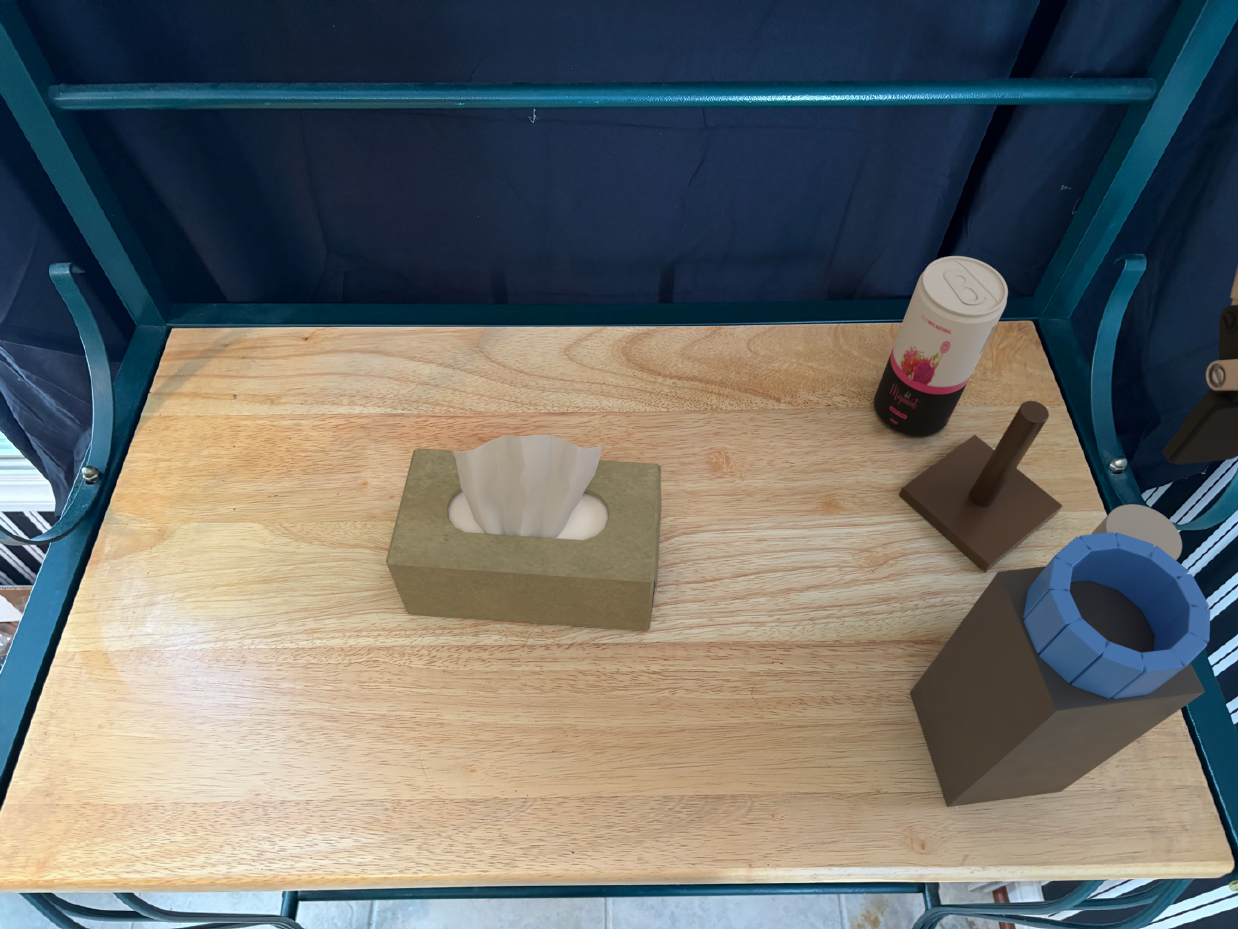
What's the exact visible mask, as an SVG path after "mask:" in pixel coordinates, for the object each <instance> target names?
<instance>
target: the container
mask: <svg viewBox="0 0 1238 929" xmlns="http://www.w3.org/2000/svg"><path fill="white" fill-rule="evenodd" d="M1108 532H1114V533H1115V534H1116V533H1117V532H1118V533H1121V534H1124V535H1127V536H1130V537H1134V538H1137V539H1140V540H1143V541H1146V542H1149V543H1152V544H1154V548H1155V547H1156V546H1158V547H1159V548H1161V549H1162V550H1163V551H1165V552H1166V553H1167V554H1168V555H1170V556H1171V557H1172V558H1173V559H1175V560H1176V561H1177V560H1178V559H1179V557H1180V556H1181V554H1182V550H1183V541H1182V537H1181V534H1180V532H1179V531H1178V529H1177V528H1176V526H1175V524H1174V523H1172V521H1171V520H1170V519H1168V518H1167V517H1166V516H1165V515H1164V514H1162V513H1160V512H1159V511H1157V510H1156V509H1153V508H1152V507H1148V506H1145V505H1141V504H1133V503H1132V504H1123V505H1119V506H1116V507H1115V508H1114V509H1112V510H1111V511H1110V512H1109V513H1108V514H1107V515H1106V517H1104V519H1103V520H1102V521H1101V522H1100V523H1099V524H1098V525H1097V526H1096V527H1095V529H1094V530H1093V531H1092V532H1091V533H1090V534H1099V533H1108Z"/></svg>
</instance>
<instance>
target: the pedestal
mask: <svg viewBox="0 0 1238 929" xmlns="http://www.w3.org/2000/svg"><path fill="white" fill-rule="evenodd" d="M1046 566H1047V565H1045V566H1035V567H1026V568H1017V569H1008V570H1001V571H997V573H996V574H995V575H994V577H993V578H992V579H991V581H990V582H989V584H988V585H987V586H986V588H985V589H984V590H983V592H982V593H981V595H980V596H979V597H978V599H977V600H976V601H975V603H974V604H973V606H972V607H971V608H970V610H969V611H968V612H967V614H966V615H965V617H964V618H963V619H962V620H961V622H960V624H959V625H958V626H957V628H956V629H955V630H954V631H953V633H952V634H951V635H950V637H949V638H948V640H947V641H946V642H945V644H944V645H943V647H942V648H941V649H940V650H939V652H938V653H937V655H936V656H935V657H934V659H933V660H932V662H931V663H930V664H929V666H928V667H927V668H926V669H925V671H924V672H923V674H922V675H921V677H920V678H919V679H918V680H917V682H916V683H915V685H914V686H913V688H912V689H910V692H909V693H910V697H911V700H912V703H913V707H914V709H915V712H916V715H917V718H918V722H919V726H920V728H921V730H922V733H923V737H924V741H925V743H926V746H927V750H928V752H929V755H930V758H931V761H932V764H933V767H934V771H935V774H936V777H937V779H938V782H939V785H940V789H941V792H942V796H943V798H944V801H945V804H946V807H947V808H949V807H951V808H952V807H956V806H957V807H958V806H965V805H973V804H979V803H987V802H994V801H1002V800H1008V799H1009V800H1010V799H1017V798H1023V797H1030V796H1038V795H1046V794H1053V793H1061V792H1063V791H1064V790H1066V789H1067V788H1069V787H1070V786H1071V785H1073V784H1075V783H1076V782H1077V781H1079V780H1080V779H1082V778H1083V777H1084V776H1086V775H1087V774H1089V773H1091V771H1093V770H1095V769H1096V768H1097V767H1099V766H1100V765H1102V764H1104V763H1105V762H1106V761H1108V760H1110V758H1112V757H1113V756H1115V755H1117V754H1118V753H1119V752H1120V751H1122V750H1124V749H1125V748H1126V747H1128V746H1129V745H1130V744H1132V743H1134V742H1135V741H1136V740H1138V739H1140V738H1141V737H1142V736H1144V735H1145V734H1146V733H1148V732H1150V731H1151V730H1152V729H1154V728H1155V727H1157V726H1158V725H1159V724H1161V723H1162V722H1164V721H1165V720H1168V718H1170V717H1171V716H1173V715H1174V714H1176V713H1177V712H1178V711H1180V710H1181V709H1182V708H1184V707H1185V706H1187V705H1189V704H1190V703H1191V702H1193V701H1195V699H1197V698H1198V697H1200V696H1201V695H1203V694H1204V693H1206V691H1205V688H1204V687H1203V684H1202V683H1201V681H1200V679H1199V677H1198V675H1197V673H1196V671H1195V669H1194V667H1193V665H1192V664H1191V662H1190V663H1189V664H1188V665H1187V666H1186V667H1185V668H1183V669H1182V670H1181V671H1179V672H1178V673H1177V674H1176V675H1174V676H1173V677H1172V678H1170V679H1169V680H1168V681H1166V682H1165V683H1164V684H1162V685H1161V686H1160V687H1158V688H1157V689H1156V690H1154V691H1153V692H1152V693H1149V694H1147V695H1142V696H1134V697H1126V698H1118V699H1113V698H1112V697H1111V698H1106V697H1103V696H1100V695H1097V694H1095V693H1092V692H1089V691H1086V690H1084V689H1081V688H1078V687H1075V686H1073V685H1072V681H1071V682H1070V683H1068V682H1067V681H1065V680H1064V679H1063V678H1062V677H1061V676H1060V675H1059V674H1058V673H1057V672H1056V671H1055V670H1053V669H1052V668H1051V667H1050V666H1049V665H1048V664H1047V663H1046V662H1045V661H1044V660H1043V659H1041V658H1040V657H1039V655H1040V654H1041V653H1037V652H1036V650H1035V647H1034V645H1033V643H1032V640H1031V638H1030V636H1029V633H1028V631H1027V628H1026V626H1025V624H1024V620H1025V619H1024V618H1023V615H1024V609H1025V603H1026V598H1027V592H1028V589H1029V587H1030V585H1031V584H1032V583H1033V582H1034V580H1035V579H1036V578H1037V577H1038V576H1039V574H1040V573H1041V572H1042V571H1043V569H1044V568H1045V567H1046ZM1069 591H1070V594H1071V596H1072V598H1073V600H1074V602H1075V604H1076V606H1077V609H1078V611H1079V613H1080V615H1081V617H1082V619H1083V620H1084V621H1086V622H1087V623H1088V624H1089V625H1090V626H1091V627H1093V628H1094V629H1095V630H1096V631H1097V632H1098V633H1099V634H1101V635H1102V636H1103V637H1104V638H1105V639H1106V640H1107V641H1109V642H1112V643H1115V644H1118V645H1120V646H1123V647H1126V648H1129V649H1132V650H1135V651H1138V652H1141V653H1143V652H1151V651H1154V639H1155V635H1154V633H1153V631H1152V629H1151V627H1150V625H1149V623H1148V621H1147V619H1146V617H1145V615H1144V613H1143V612H1142V610H1141V609H1140V608H1138V607H1137V606H1136V605H1135V604H1134V603H1132V602H1131V601H1130V600H1129V599H1128V598H1127V597H1125V596H1124V595H1123V594H1122V593H1121V592H1119V591H1118V590H1116V589H1113V588H1110V587H1107V586H1104V585H1101V584H1098V583H1095V582H1092V581H1089V580H1087V581H1078V582H1071V583H1070V590H1069Z"/></svg>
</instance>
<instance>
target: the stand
mask: <svg viewBox="0 0 1238 929" xmlns="http://www.w3.org/2000/svg"><path fill="white" fill-rule="evenodd" d="M1049 416H1050V414H1049V410H1048V408H1047V407H1046V406H1045V405H1044V404H1042V403H1041V402H1038V401H1036V400H1026V401H1024V402H1022V403H1021V404H1020V407H1018V409H1017V411H1016V413H1015V414H1014V416H1013V418H1012V419H1011V421H1010V423H1009V424H1008V426H1007V428H1006V429H1005V431H1004V433H1003V434H1002V436H1001V438H1000V440H999V442H998V443H997V445H996V446H995V448H993V447H991V446H990V445H989V444H987V443H986V442H985V441H984V440H982V439H981V438H980V437H979V436H978V435H977V434H973V435H972V436H971V437H969V438H968V439H967V440H965V441H964V442H962V443H961V444H960V445H958V446H957V447H955V448H954V449H953V450H951V451H950V452H948V453H947V454H945V456H943V457H942V458H940V459H939V460H937V461H936V462H935V463H933V465H931V466H930V467H928V468H927V469H925V470H924V471H923V472H922V473H920V474H919V475H918V476H915V478H913V479H912V480H911V481H910V482H908V483H906V484H905V485H904V486H902V487H901V490H900V492H899V494H898V496H899V498H901V499H902V500H903V501H904V502H906V504H908V505H909V506H910V507H911V508H912V509H913V510H914V511H916V512H917V513H918V514H919V515H920V516H921V517H922V518H923V519H924V520H925V521H927V522H928V524H930V525H931V526H932V527H933V528H935V530H937V532H939V533H940V534H941V535H942V536H944V537H945V539H947V540H948V541H949V542H950V543H951V544H952V545H953V546H955V547H956V548H957V549H958V550H959V551H960V552H961V553H963V554H964V555H965V556H966V557H967V558H968V559H969V560H970V561H972V563H974V564H975V565H976V566H977V567H978V568H979V569H980V570H981V571H983V573H987V572H988V571H989V570H991V568H993V567H994V566H995V565H997V564H998V563H999V562H1000V561H1001V560H1002V559H1004V558H1005V557H1006V556H1008V555H1009V554H1010V553H1011V552H1012V551H1013V550H1015V549H1016V548H1018V547H1019V546H1020V545H1021V544H1022V543H1023V542H1024V541H1025V540H1027V539H1028V538H1029V537H1030V536H1032V535H1033V534H1034V533H1035V532H1037V531H1038V530H1039V529H1041V527H1043V526H1044V525H1045V524H1047V523H1048V522H1049V521H1050V520H1051V519H1052V518H1054V517H1055V516H1056V515H1058V513H1059V512H1060V510H1061V509H1062V508H1063V504H1062V503H1060V502H1059V501H1057V499H1056V498H1054V497H1053V496H1052V495H1050V494H1049V493H1048V492H1047V491H1045V490H1044V489H1043V488H1042V487H1040V486H1039V485H1038V484H1037V483H1035V482H1034V481H1033V480H1031V478H1029V477H1028V476H1027V475H1025V473H1023V472H1022V471H1021V470H1019V468H1017V467H1018V466H1019V465H1020V463H1021V462H1022V460H1023V458H1024V457H1025V455H1026V454H1027V452H1028V451H1029V449H1030V447H1031V446H1032V444H1033V442H1034V441H1035V439H1036V438H1037V437H1038V435H1039V433H1040V431H1041V430H1042V429H1043V427H1044V425H1045V424H1046V423H1047V421H1048V419H1049V418H1050V417H1049Z"/></svg>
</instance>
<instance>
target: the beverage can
mask: <svg viewBox="0 0 1238 929" xmlns="http://www.w3.org/2000/svg"><path fill="white" fill-rule="evenodd" d="M1008 295H1009V290H1008V285H1007V282H1006V281H1005V279H1004V277H1003V276H1002V275H1001V273H1000V272H998V271H997V269H995V268H993V267H992V266H991V265H989V264H988V263H986V262H984V261H981V260H979V259H976V258H972V257H968V256H963V255H951V256H944V257H940V258H938V259H936V260H933V261H932V262H930V263H929V264H928V265H927V267H925V269H924V271H923V272H922V273H921V274H920V276H919V277H918V279H917V283H916V286H915V288H914V290H913V293H912V296H911V299H910V302H909V305H908V306H907V309H906V312H905V315H904V317H903V320H902V322H901V325H900V327H899V330H898V333H897V336H896V339H895V340H894V343H893V347H892V349H891V352H890V355H889V357H888V360H887V363H886V365H885V368H884V371H883V373H882V375H881V377H880V380H879V384H878V386H877V389H876V391H875V393H874V399H873V407H874V410H875V413H876V415H877V417H878V418H879V420H880V421H881V422H882V423H883V424H884V425H885V426H886V427H887V428H890V429H891V430H892V431H894V432H896V433H898V434H901V435H903V436H908V437H913V438H927V437H930V436H933V435H936V434H938V433H939V432H941V431H942V430H943V429H945V428H946V426H947V425H948V423H949V421H950V419H951V417H952V415H953V413H954V411H955V409H956V407H957V405H958V402H959V401H960V399H961V397H962V395H963V393H964V391H965V389H966V387H967V385H968V383H969V381H970V379H971V377H972V375H973V373H974V371H975V369H976V366H978V363H979V361H980V359H981V358H982V355H983V353H984V351H985V349H986V347H987V345H988V343H989V341H990V339H991V337H992V335H993V333H994V330H995V329H996V326H997V325H998V322H999V321H1000V318H1001V317H1002V315H1003V313H1004V311H1005V309H1006V306H1007V302H1008V301H1007V300H1008Z"/></svg>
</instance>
